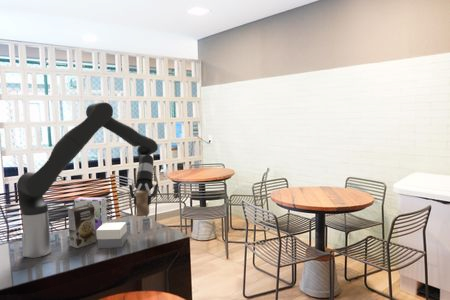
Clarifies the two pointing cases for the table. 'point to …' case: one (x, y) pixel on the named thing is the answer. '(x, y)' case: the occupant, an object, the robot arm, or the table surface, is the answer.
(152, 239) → the table surface
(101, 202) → the candy box
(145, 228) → the table surface
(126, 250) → the table surface
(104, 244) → the tower base slab
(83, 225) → the coffee box
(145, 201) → the walnut block
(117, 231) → the tower top slab
